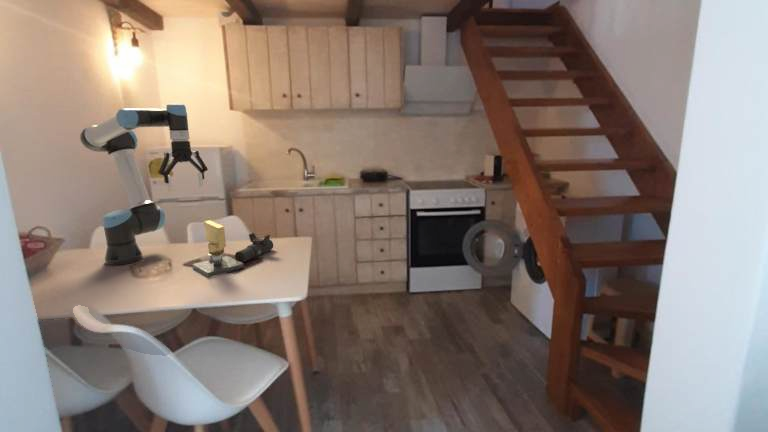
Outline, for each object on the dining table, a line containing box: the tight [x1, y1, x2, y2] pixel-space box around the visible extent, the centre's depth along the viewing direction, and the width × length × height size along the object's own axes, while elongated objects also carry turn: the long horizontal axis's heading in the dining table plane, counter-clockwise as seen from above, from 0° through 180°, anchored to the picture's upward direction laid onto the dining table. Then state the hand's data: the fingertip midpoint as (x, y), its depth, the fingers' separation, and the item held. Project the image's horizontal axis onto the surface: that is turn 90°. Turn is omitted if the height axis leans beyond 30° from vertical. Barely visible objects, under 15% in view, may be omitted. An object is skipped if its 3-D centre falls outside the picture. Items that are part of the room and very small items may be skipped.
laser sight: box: [234, 232, 274, 264], centre depth 201 cm, size 10×22×10 cm, turn 159°
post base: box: [192, 253, 245, 278], centre depth 185 cm, size 16×16×7 cm
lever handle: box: [203, 220, 227, 255], centre depth 183 cm, size 6×16×13 cm, turn 42°
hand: (186, 188), depth 186 cm, fingers open, 13 cm apart
